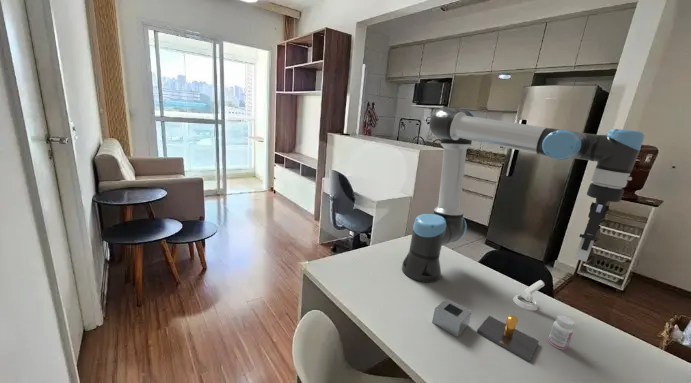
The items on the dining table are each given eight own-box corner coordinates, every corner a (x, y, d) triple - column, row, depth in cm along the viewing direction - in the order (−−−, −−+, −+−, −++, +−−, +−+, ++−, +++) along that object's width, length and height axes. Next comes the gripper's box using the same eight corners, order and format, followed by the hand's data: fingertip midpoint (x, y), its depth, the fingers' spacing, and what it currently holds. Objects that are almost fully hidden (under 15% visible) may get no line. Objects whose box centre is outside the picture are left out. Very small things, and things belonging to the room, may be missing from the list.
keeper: (476, 332, 88) (482, 312, 86) (488, 318, 95) (493, 299, 93) (529, 362, 78) (536, 340, 77) (537, 343, 86) (544, 323, 84)
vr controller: (561, 300, 100) (551, 291, 97) (530, 319, 104) (520, 311, 101) (546, 283, 106) (536, 275, 104) (518, 302, 110) (508, 294, 108)
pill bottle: (567, 352, 83) (577, 328, 81) (548, 344, 86) (556, 320, 83) (566, 342, 87) (575, 318, 85) (547, 335, 90) (555, 311, 87)
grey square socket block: (431, 322, 90) (434, 308, 89) (443, 311, 96) (446, 298, 94) (457, 337, 85) (460, 322, 83) (468, 325, 90) (471, 311, 89)
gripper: (625, 194, 72) (595, 271, 77) (624, 183, 90) (600, 246, 95) (587, 186, 76) (561, 259, 82) (593, 178, 94) (572, 238, 100)
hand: (582, 253), depth 89 cm, fingers open, 13 cm apart
